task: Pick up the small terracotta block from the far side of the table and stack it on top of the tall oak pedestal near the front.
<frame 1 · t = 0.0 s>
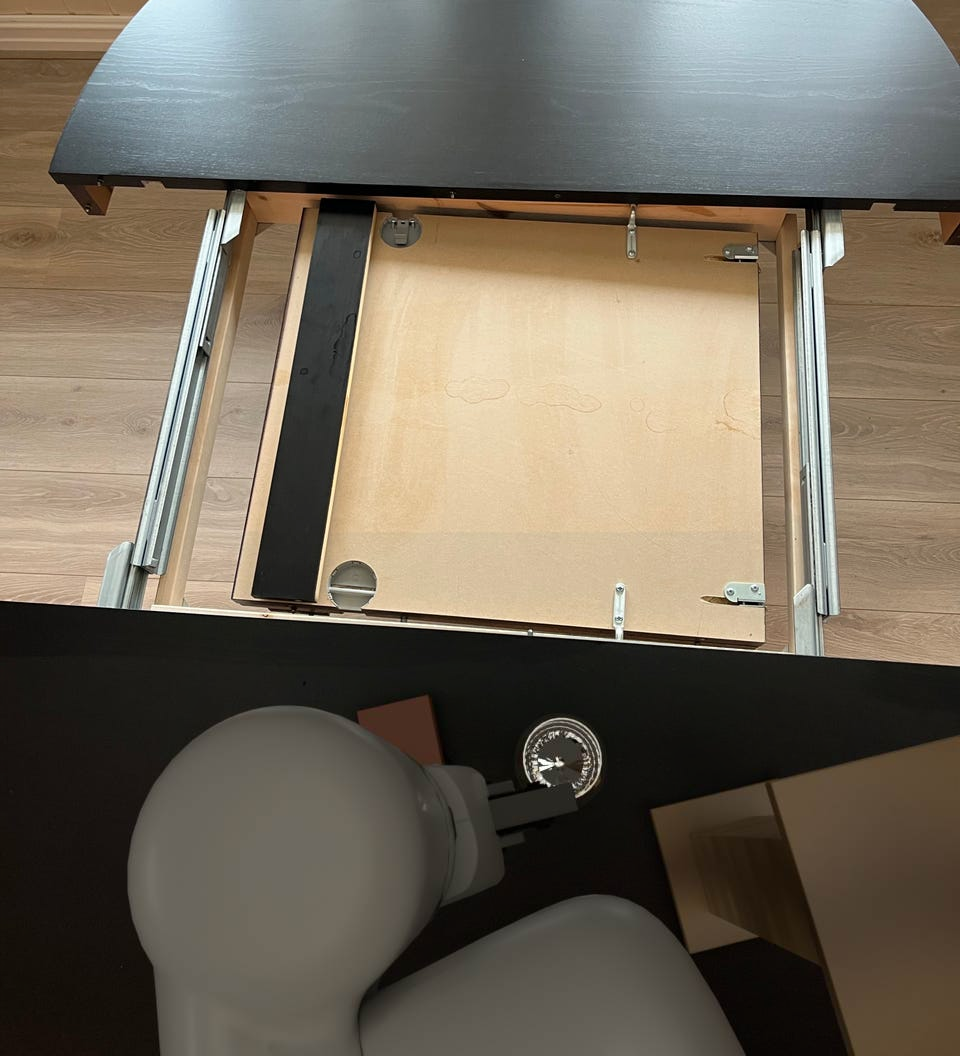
hand: (398, 840, 53), 21 cm above the table, tool pointing down, fingers open, 9 cm apart
block: (404, 743, 75), on the table
wineglass: (556, 768, 74), on the table
pedestal: (732, 863, 71), on the table
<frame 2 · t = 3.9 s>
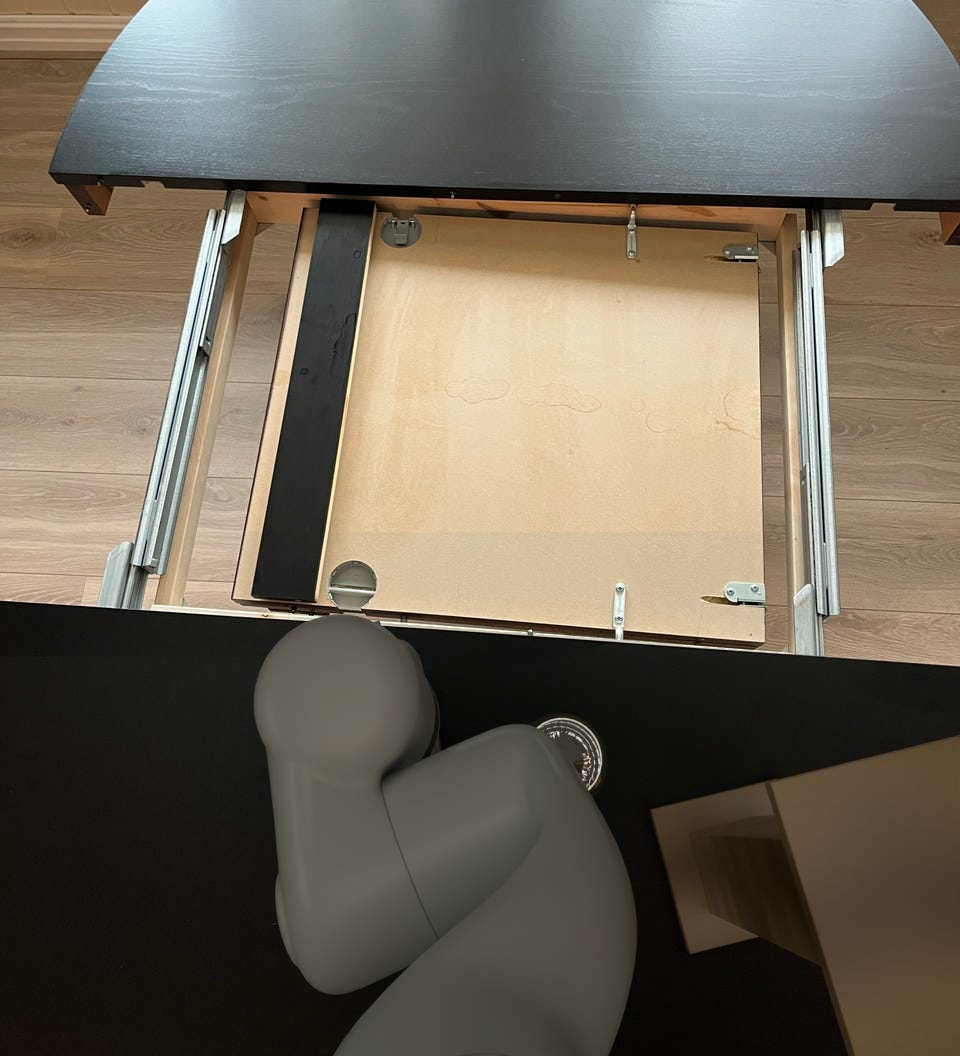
hand: (403, 742, 74), 0 cm above the table, tool pointing down, fingers closed on block, 5 cm apart
block: (404, 743, 75), on the table, touching gripper
everything else where it was.
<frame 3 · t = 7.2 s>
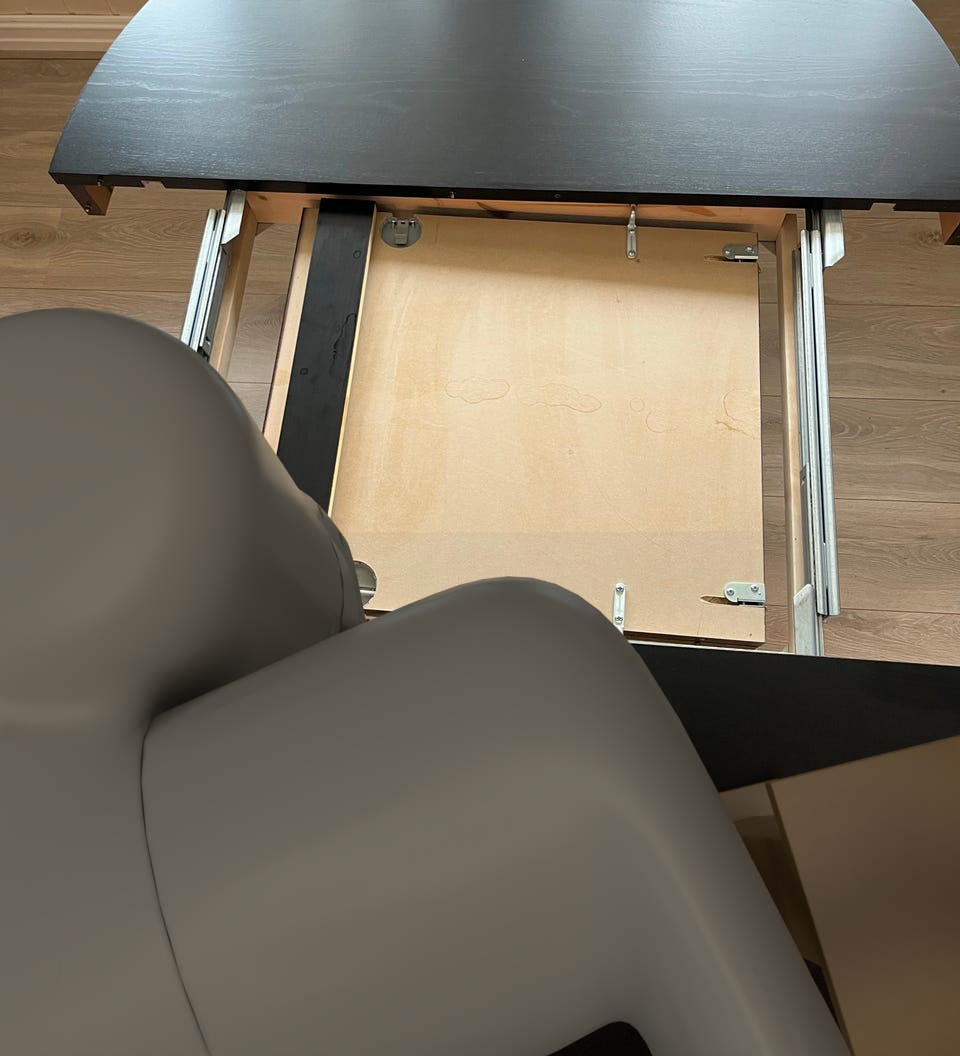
hand: (331, 700, 45), 31 cm above the table, tool pointing down, fingers closed on block, 5 cm apart
block: (333, 701, 46), point 31 cm above the table, touching gripper
everything else where it was.
when the fingers open (41 cm above the table, at t = 10.7 s): block stays where it is, resting on pedestal.
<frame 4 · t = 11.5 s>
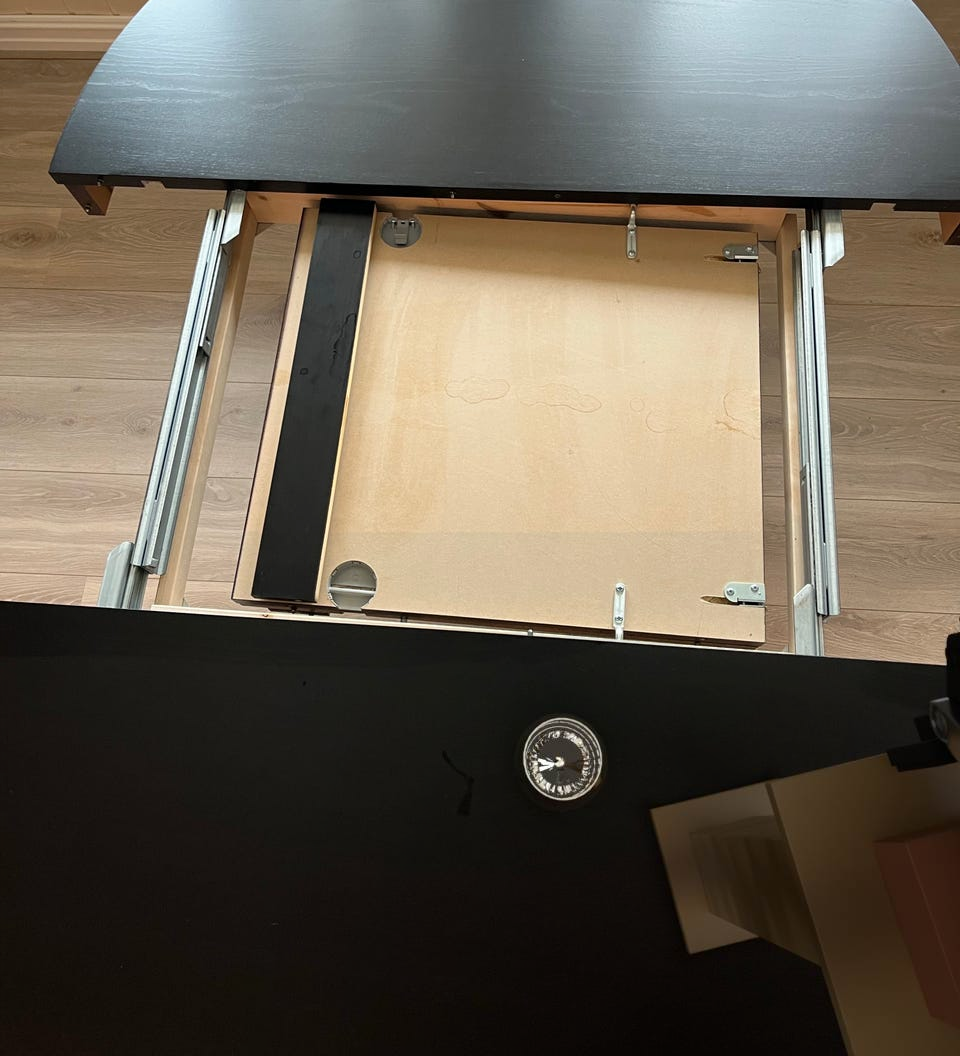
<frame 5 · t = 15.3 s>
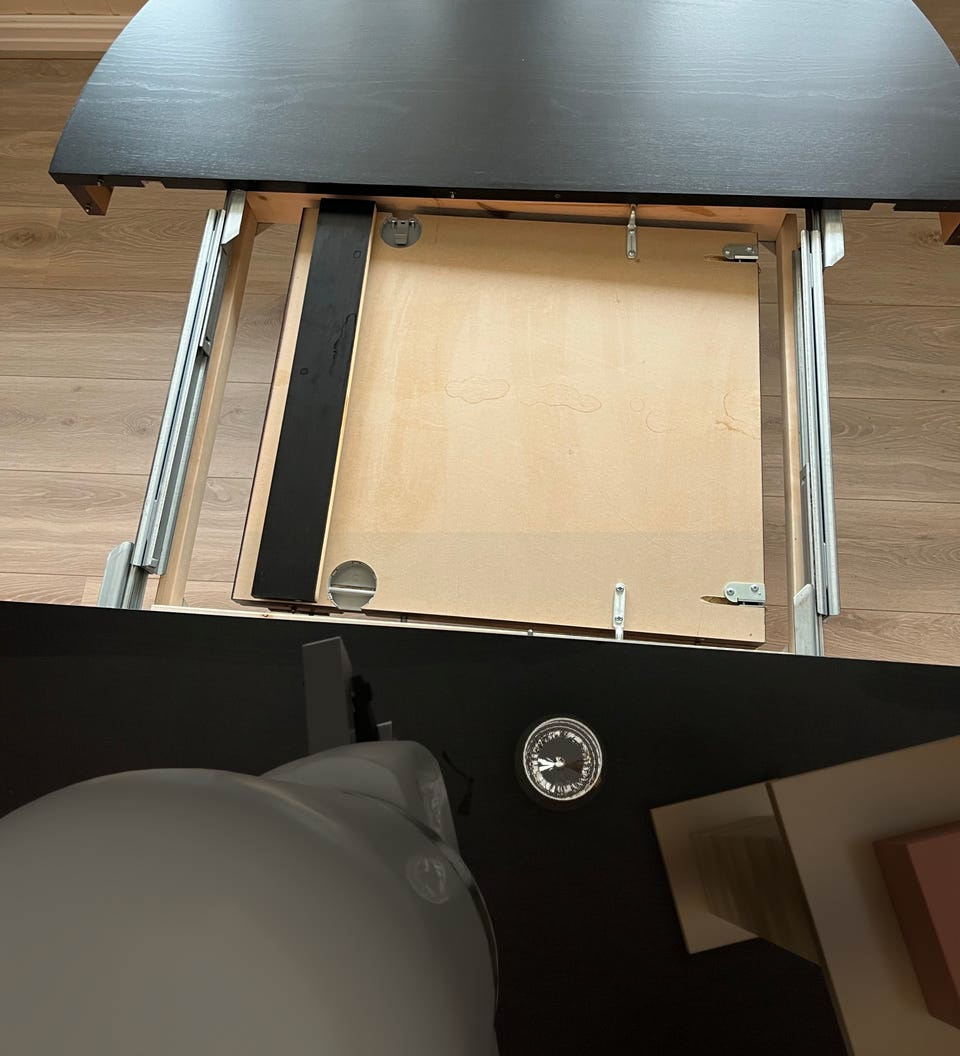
hand: (402, 916, 38), 36 cm above the table, tool pointing down, fingers open, 9 cm apart
at the end: block inside the target area on the pedestal (0.1 cm from its centre), point 41.0 cm above the pedestal's base; block tilted 0°; the gripper is holding nothing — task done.
